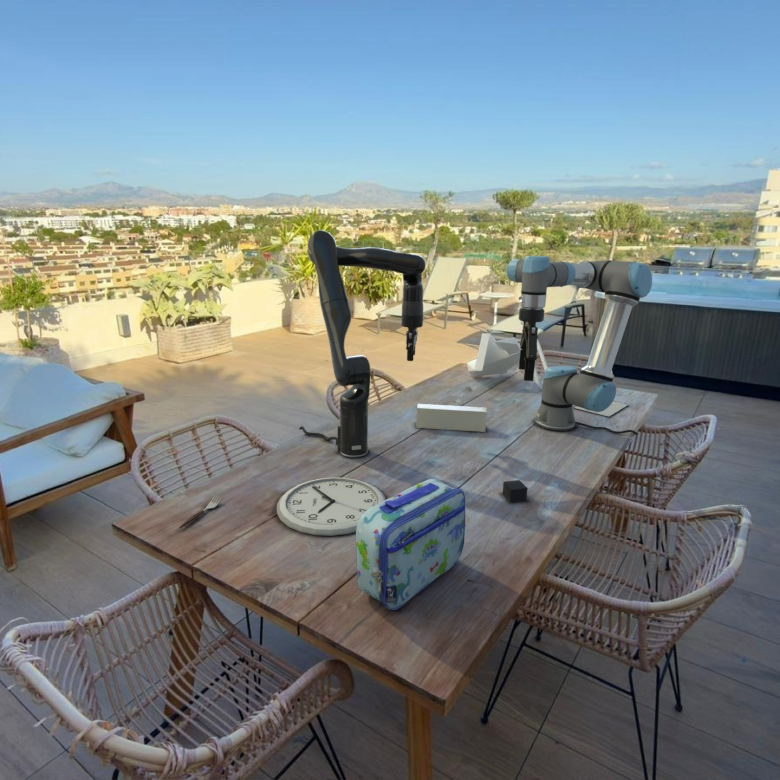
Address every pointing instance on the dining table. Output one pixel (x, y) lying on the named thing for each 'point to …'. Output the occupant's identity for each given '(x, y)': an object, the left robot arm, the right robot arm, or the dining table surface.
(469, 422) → the bar
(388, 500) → the lunch box
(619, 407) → the invitation card
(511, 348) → the white plastic object
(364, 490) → the wall clock
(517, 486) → the rubber block
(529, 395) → the dining table surface
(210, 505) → the fork
